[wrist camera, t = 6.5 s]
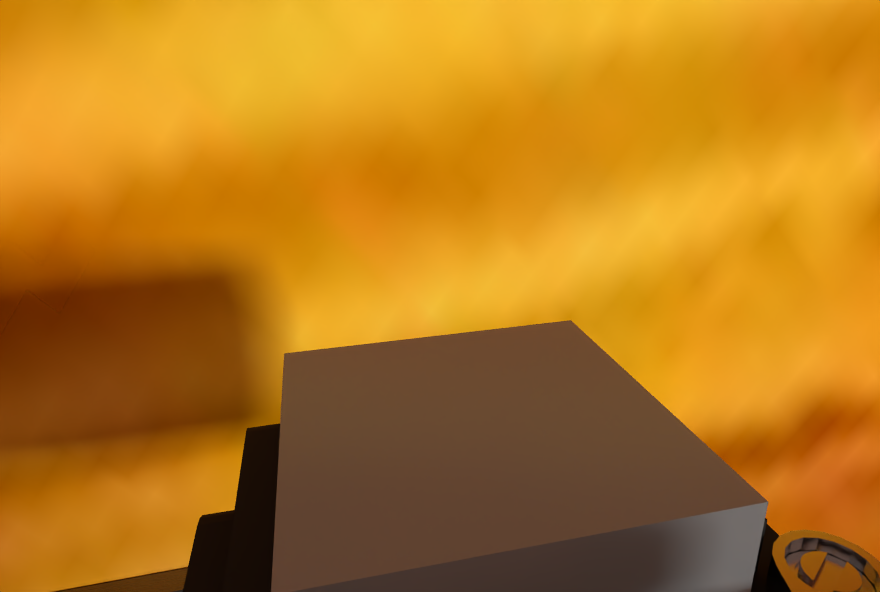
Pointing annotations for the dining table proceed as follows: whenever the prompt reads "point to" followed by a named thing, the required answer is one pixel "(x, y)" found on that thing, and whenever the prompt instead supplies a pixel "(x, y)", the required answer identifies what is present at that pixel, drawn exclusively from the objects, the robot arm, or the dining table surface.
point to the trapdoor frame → (142, 583)
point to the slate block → (498, 473)
